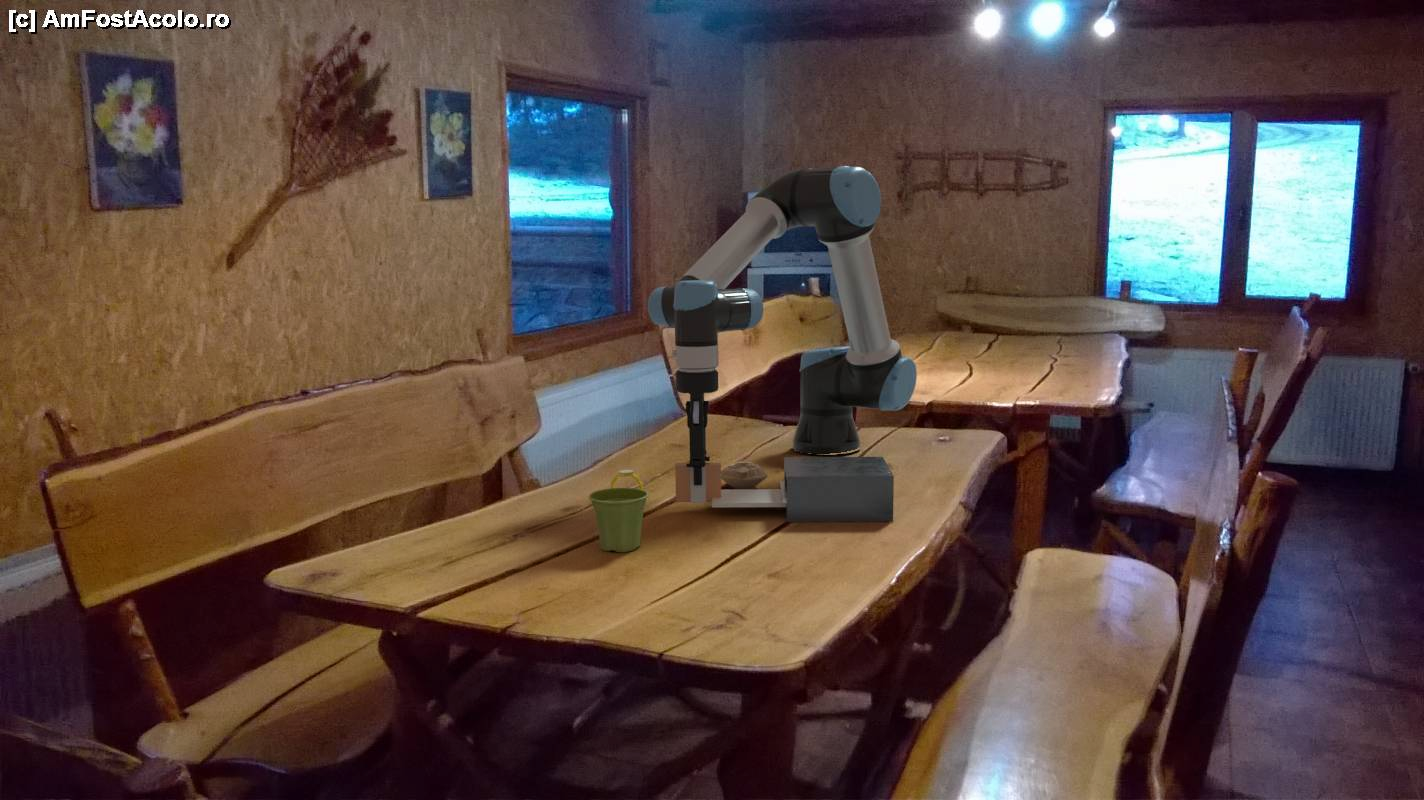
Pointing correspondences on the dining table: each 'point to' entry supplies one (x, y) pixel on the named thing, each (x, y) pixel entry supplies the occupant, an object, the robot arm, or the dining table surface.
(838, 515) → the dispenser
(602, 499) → the plant pot
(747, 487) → the pottery oil lamp
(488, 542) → the dining table surface
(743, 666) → the dining table surface
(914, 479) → the dining table surface
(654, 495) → the dining table surface
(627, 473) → the watch
